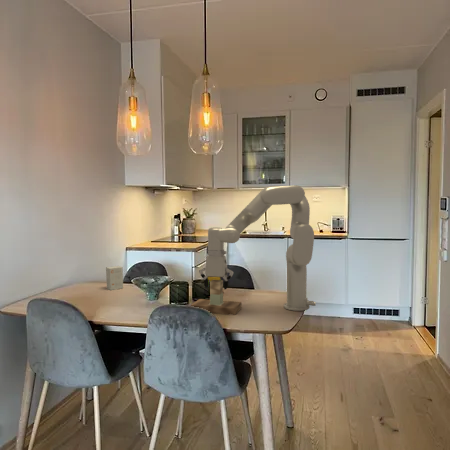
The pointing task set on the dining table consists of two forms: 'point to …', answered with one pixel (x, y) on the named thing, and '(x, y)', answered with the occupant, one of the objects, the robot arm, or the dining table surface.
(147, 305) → the dining table surface
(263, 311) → the dining table surface
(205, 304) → the base board
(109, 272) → the small box
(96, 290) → the dining table surface
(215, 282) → the beech block
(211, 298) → the sage cube
